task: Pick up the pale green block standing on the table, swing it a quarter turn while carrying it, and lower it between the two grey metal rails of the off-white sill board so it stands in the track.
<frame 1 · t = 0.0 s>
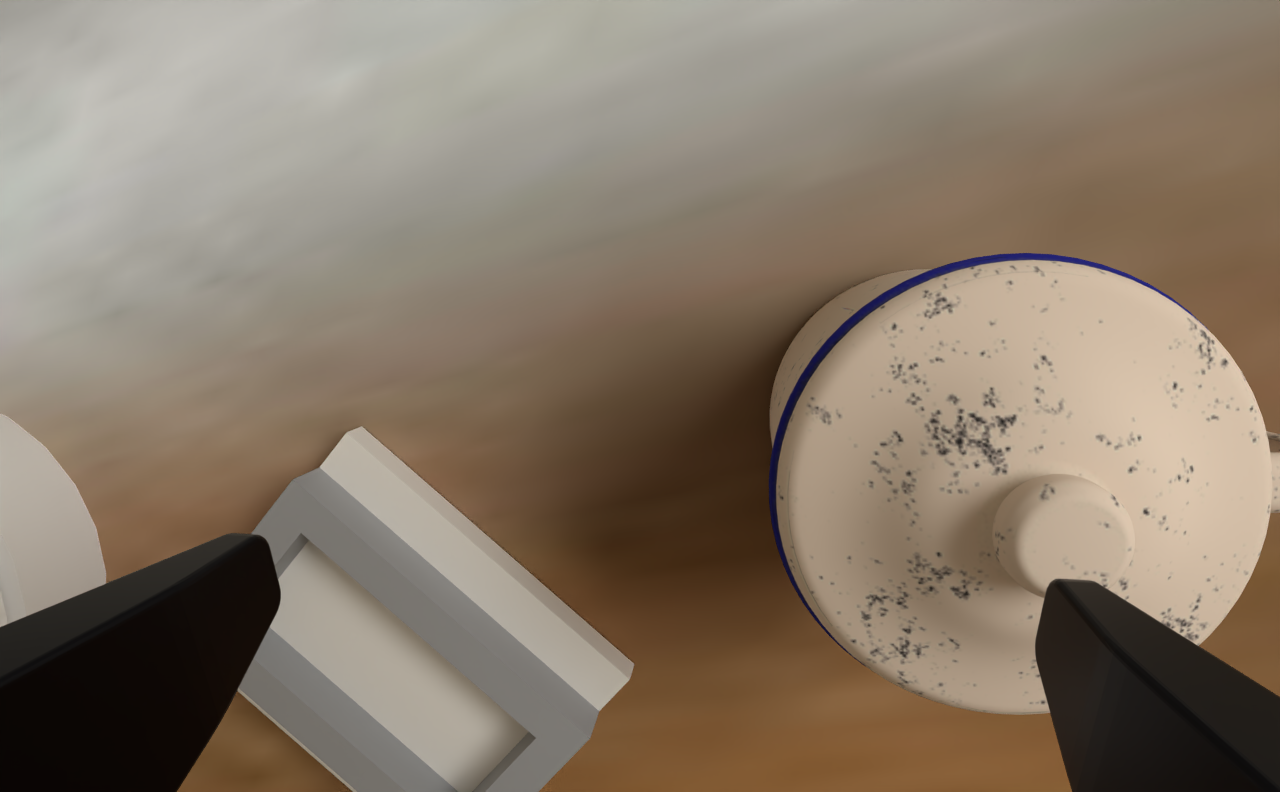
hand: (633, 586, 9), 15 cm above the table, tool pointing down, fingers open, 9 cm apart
teacup with lid: (962, 414, 23), on the table
sill track: (410, 646, 27), on the table
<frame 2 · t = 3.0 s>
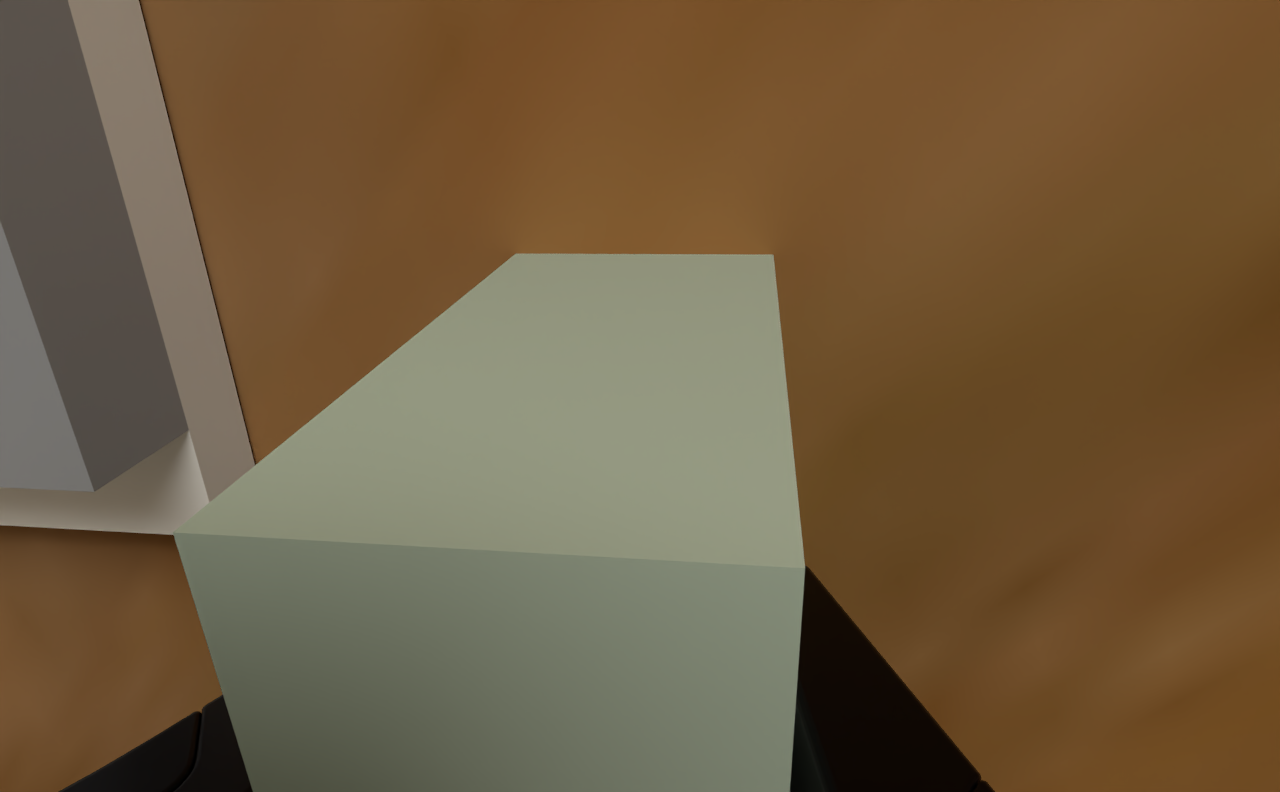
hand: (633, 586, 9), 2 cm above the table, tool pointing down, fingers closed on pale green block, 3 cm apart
pale green block: (648, 512, 10), on the table, touching gripper
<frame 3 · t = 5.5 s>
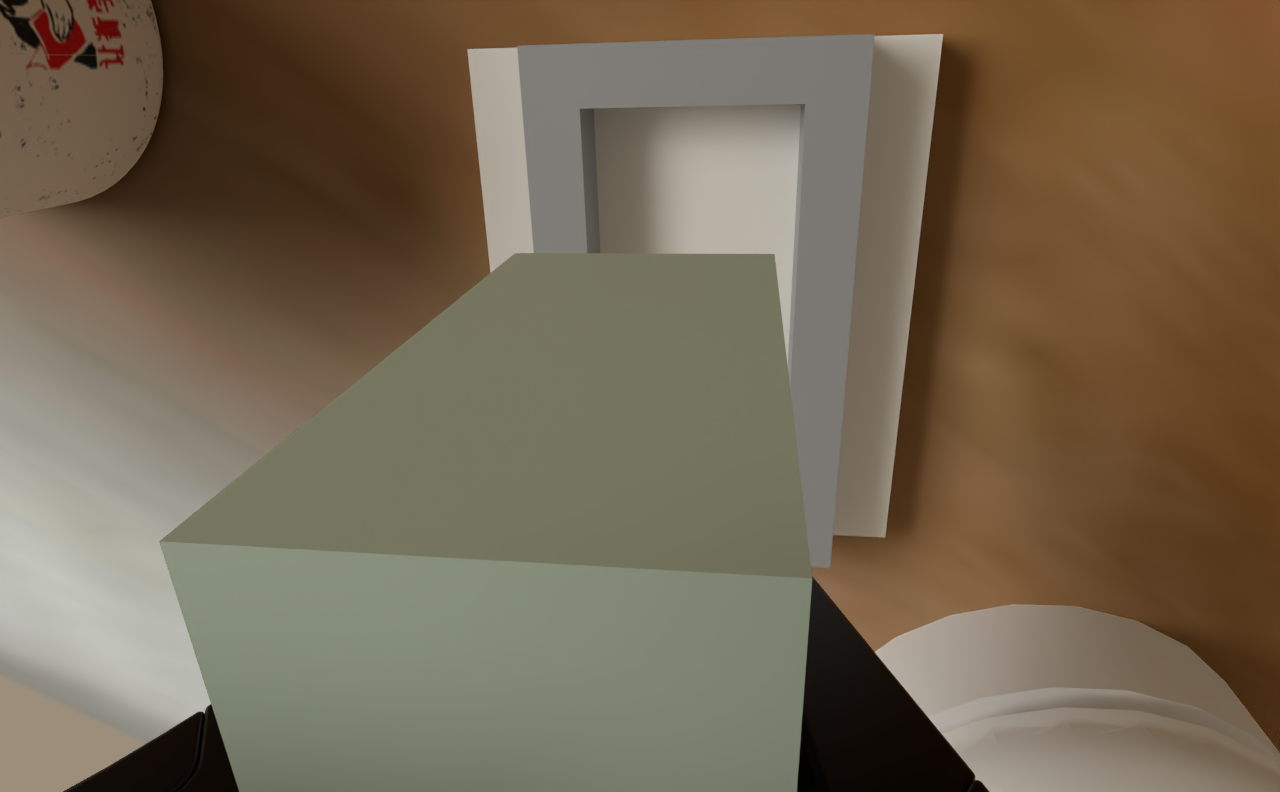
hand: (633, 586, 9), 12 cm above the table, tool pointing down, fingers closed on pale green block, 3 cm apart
pale green block: (648, 515, 10), point 10 cm above the table, touching gripper
sill track: (697, 303, 20), on the table
honey pot: (1015, 766, 24), on the table
when the fingers open (3 cm above the table, at t = 7.5 s): pale green block stays where it is, resting on sill track.
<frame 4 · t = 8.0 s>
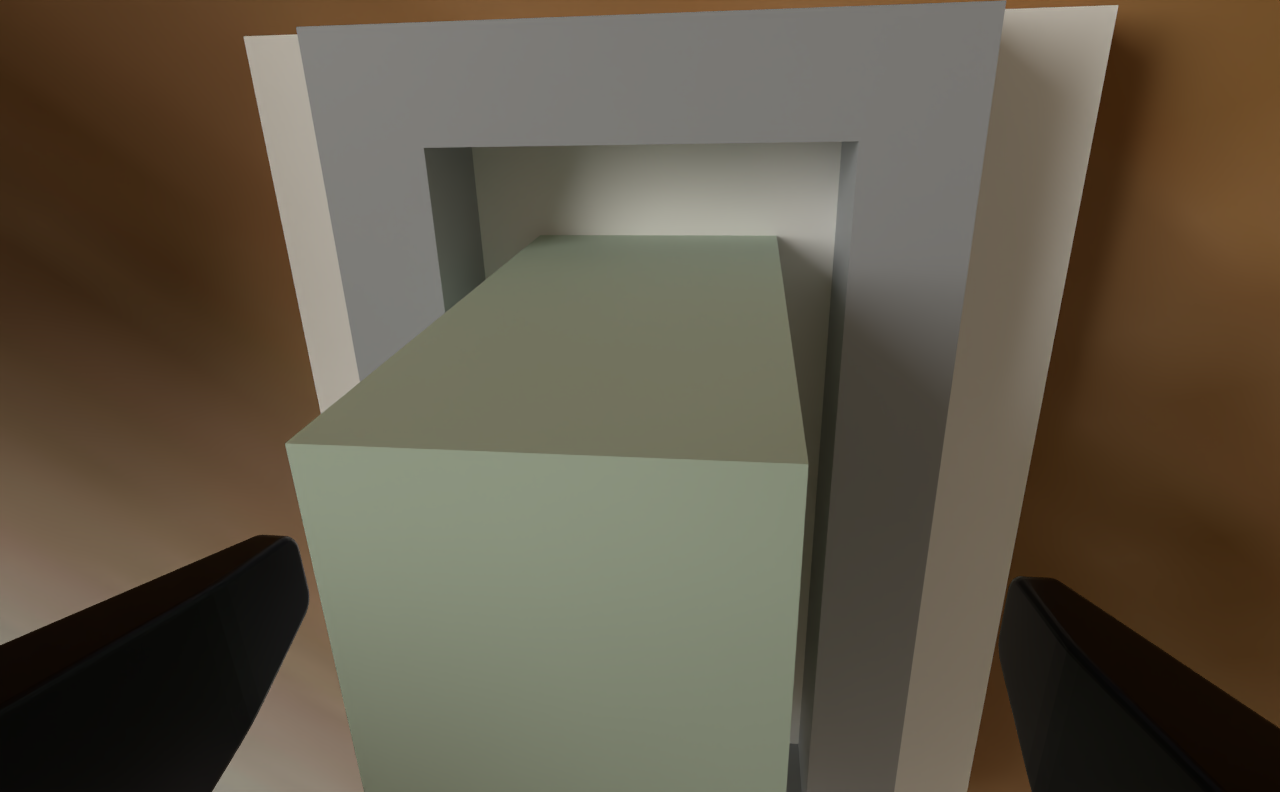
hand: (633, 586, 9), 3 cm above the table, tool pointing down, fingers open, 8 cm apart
pale green block: (660, 478, 11), point 1 cm above the table, touching sill track
sill track: (664, 451, 12), on the table
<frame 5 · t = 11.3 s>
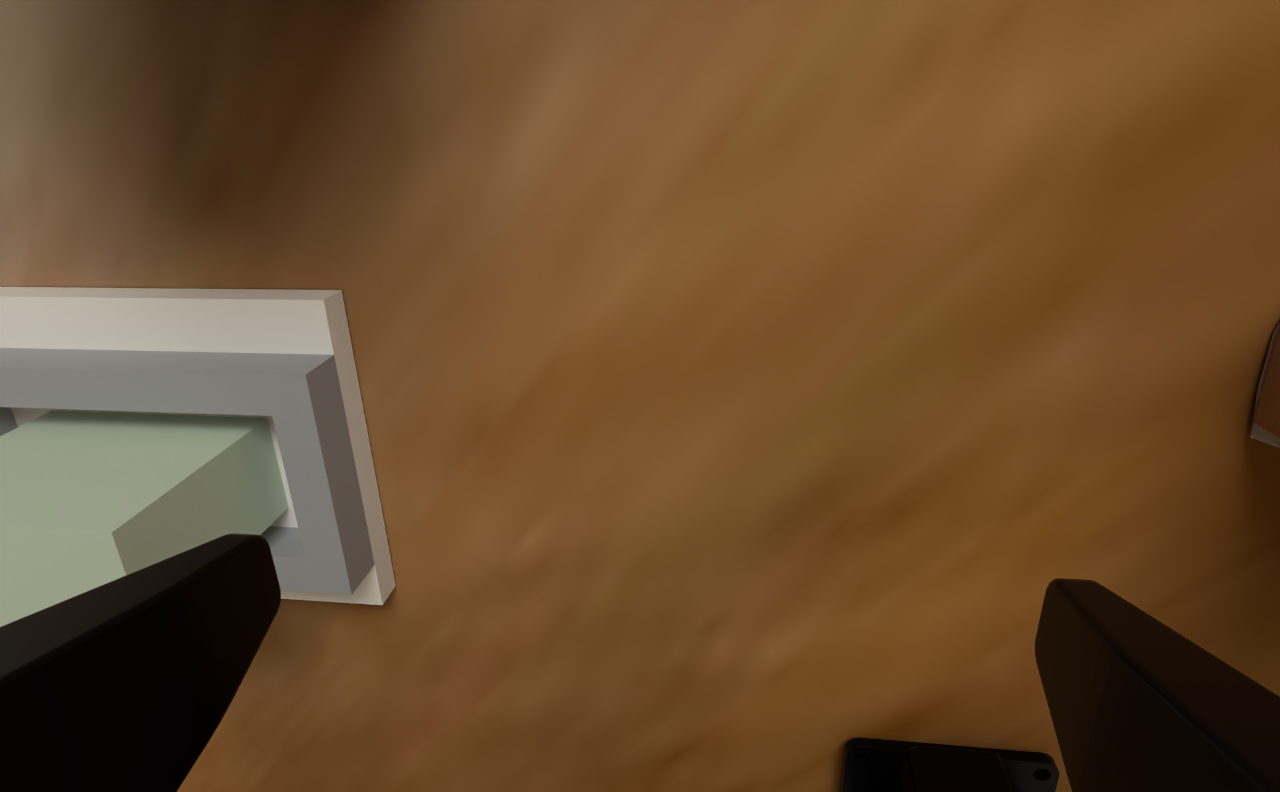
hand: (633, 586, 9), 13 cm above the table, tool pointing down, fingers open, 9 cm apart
pale green block: (170, 459, 23), point 1 cm above the table, touching sill track
sill track: (190, 443, 24), on the table
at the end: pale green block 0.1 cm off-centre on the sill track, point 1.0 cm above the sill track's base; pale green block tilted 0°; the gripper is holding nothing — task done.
